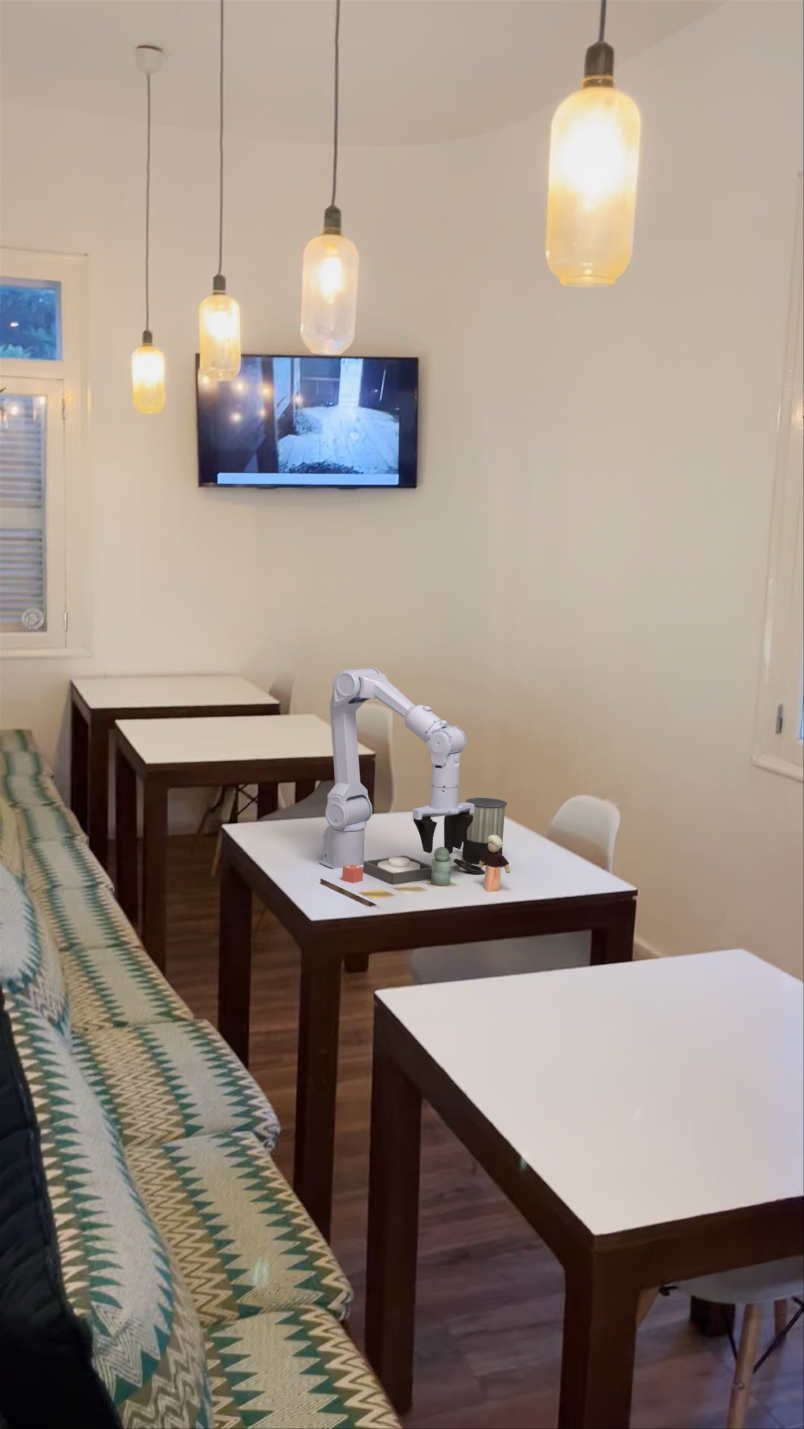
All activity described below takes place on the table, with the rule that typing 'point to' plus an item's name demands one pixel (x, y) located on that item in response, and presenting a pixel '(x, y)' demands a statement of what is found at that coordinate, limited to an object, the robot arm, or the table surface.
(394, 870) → the white stepped disc
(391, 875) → the dark grey square tray
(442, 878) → the pawn
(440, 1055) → the table surface
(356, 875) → the die
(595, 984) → the table surface
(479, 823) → the milk frother
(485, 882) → the grandmother figurine
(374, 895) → the flat thin brownish pieces
